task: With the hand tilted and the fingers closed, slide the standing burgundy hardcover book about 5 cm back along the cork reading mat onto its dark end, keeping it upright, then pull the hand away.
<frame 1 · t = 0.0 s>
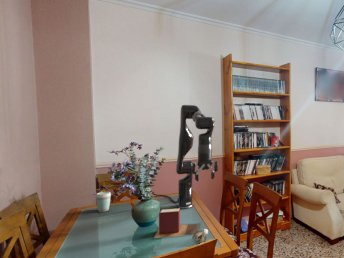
hand: (204, 179, 144), 29 cm above the table, tool pointing down, fingers open, 8 cm apart
eagle figurine: (200, 241, 132), on the table
mat: (177, 231, 144), on the table
book: (169, 231, 142), resting on mat
coffee cup: (103, 210, 172), on the table
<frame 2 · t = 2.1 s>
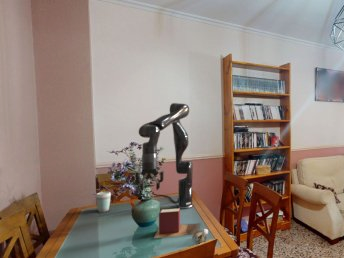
hand: (149, 189, 142), 24 cm above the table, tool pointing down, fingers open, 7 cm apart
nothing on the table moved.
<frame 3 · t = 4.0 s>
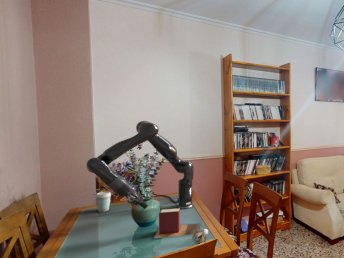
hand: (146, 207, 138), 15 cm above the table, tool tilted 45°, fingers closed
nothing on the table moved.
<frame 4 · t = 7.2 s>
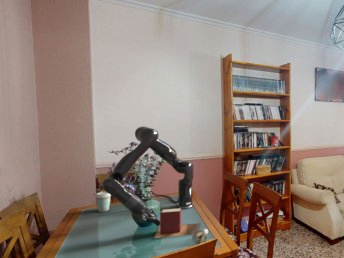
hand: (159, 224, 141), 5 cm above the table, tool tilted 45°, fingers closed
nothing on the table moved.
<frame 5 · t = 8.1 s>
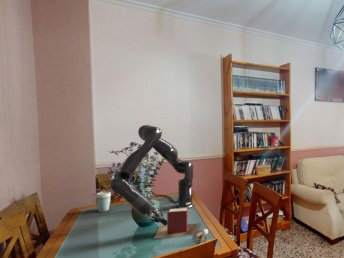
hand: (166, 224, 142), 5 cm above the table, tool tilted 45°, fingers closed
book: (177, 230, 143), resting on mat, touching gripper
everything else where it was.
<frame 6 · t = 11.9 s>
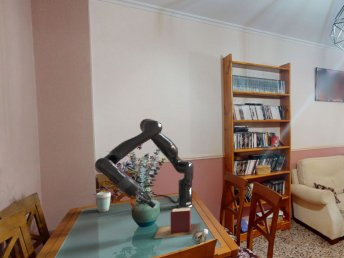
hand: (154, 206, 139), 15 cm above the table, tool tilted 45°, fingers closed
book: (181, 230, 144), resting on mat
everything else where it was.
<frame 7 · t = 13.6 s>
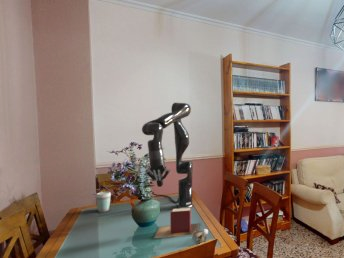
hand: (160, 186, 146), 25 cm above the table, tool pointing down, fingers closed
nothing on the table moved.
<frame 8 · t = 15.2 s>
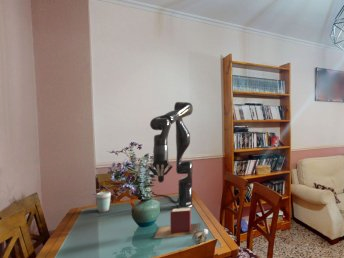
hand: (161, 182, 147), 27 cm above the table, tool pointing down, fingers closed
nothing on the table moved.
at the end: book 0.5 cm from the target spot, resting on mat; book tilted 0°; the gripper is holding nothing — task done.
